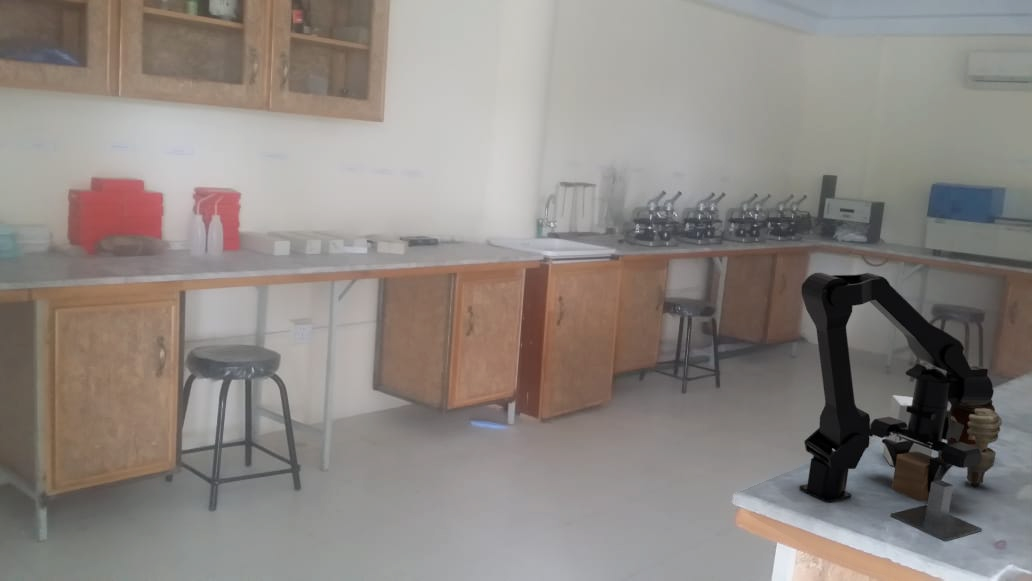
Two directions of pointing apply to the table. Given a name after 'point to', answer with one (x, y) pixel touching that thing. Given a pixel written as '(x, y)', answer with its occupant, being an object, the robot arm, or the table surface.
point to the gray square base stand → (937, 515)
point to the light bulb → (983, 441)
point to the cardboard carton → (912, 475)
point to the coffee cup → (965, 419)
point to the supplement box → (900, 413)
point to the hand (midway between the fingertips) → (915, 486)
